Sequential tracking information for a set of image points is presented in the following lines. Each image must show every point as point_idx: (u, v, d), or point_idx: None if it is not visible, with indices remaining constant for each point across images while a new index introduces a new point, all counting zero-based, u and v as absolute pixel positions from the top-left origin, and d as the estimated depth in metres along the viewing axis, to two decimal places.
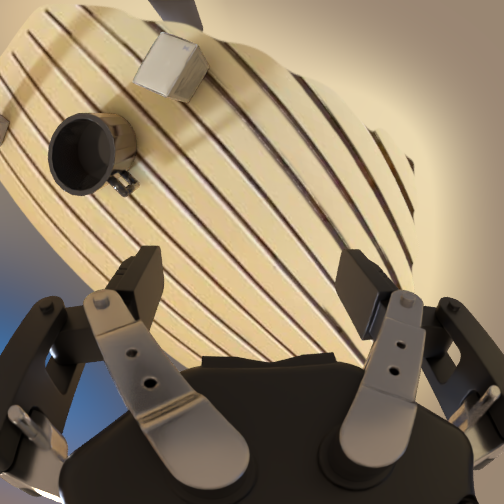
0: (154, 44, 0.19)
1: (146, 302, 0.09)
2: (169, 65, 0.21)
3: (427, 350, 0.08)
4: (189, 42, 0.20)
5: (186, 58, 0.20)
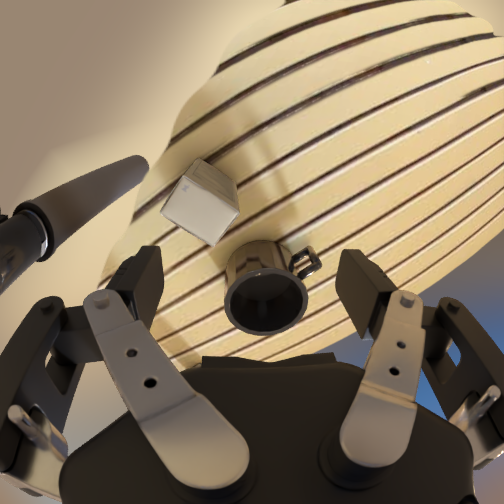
0: (173, 221, 0.24)
1: (146, 302, 0.09)
2: (203, 207, 0.24)
3: (427, 350, 0.08)
4: (178, 184, 0.23)
5: (197, 187, 0.23)
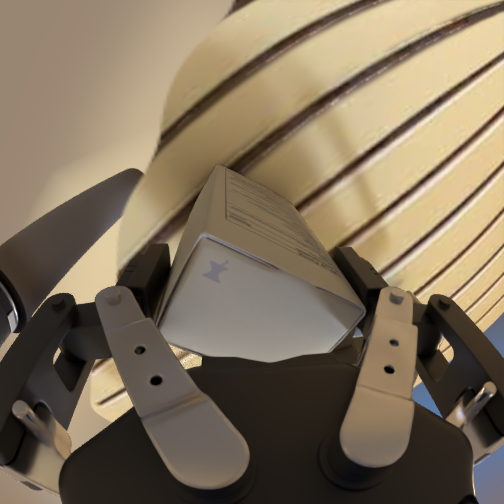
0: (194, 350, 0.09)
1: (156, 299, 0.10)
2: (276, 314, 0.08)
3: (418, 347, 0.08)
4: (191, 261, 0.07)
5: (254, 266, 0.07)
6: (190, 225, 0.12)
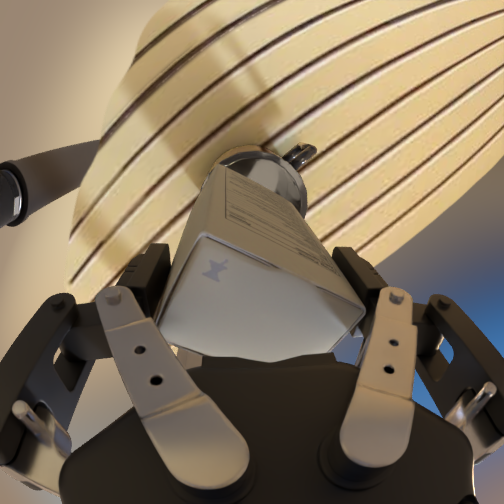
0: (193, 349, 0.09)
1: (157, 299, 0.10)
2: (276, 314, 0.08)
3: (417, 347, 0.08)
4: (190, 260, 0.07)
5: (254, 265, 0.07)
6: (190, 224, 0.11)
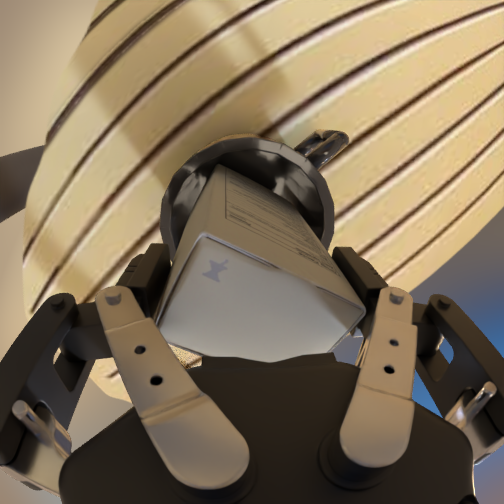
0: (193, 350, 0.09)
1: (156, 299, 0.10)
2: (276, 314, 0.08)
3: (417, 347, 0.08)
4: (190, 260, 0.07)
5: (254, 265, 0.07)
6: (190, 225, 0.11)
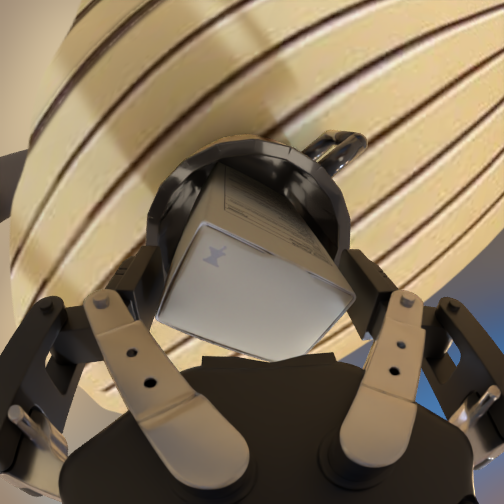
0: (194, 333, 0.10)
1: (147, 302, 0.09)
2: (270, 298, 0.09)
3: (427, 350, 0.08)
4: (192, 247, 0.08)
5: (250, 251, 0.08)
6: (191, 218, 0.12)
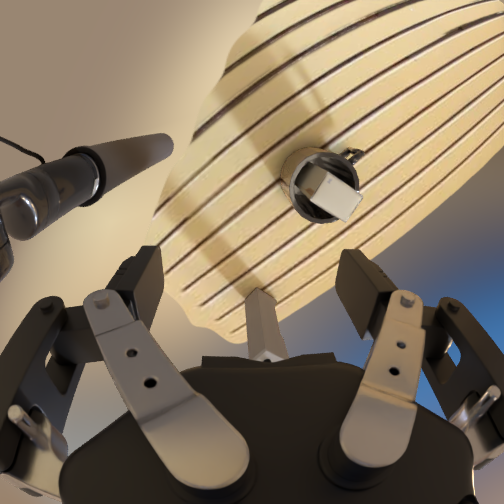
0: (319, 205, 0.33)
1: (147, 302, 0.09)
2: (341, 194, 0.33)
3: (427, 350, 0.08)
4: (324, 178, 0.32)
5: (337, 180, 0.32)
6: (309, 176, 0.36)
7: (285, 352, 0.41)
